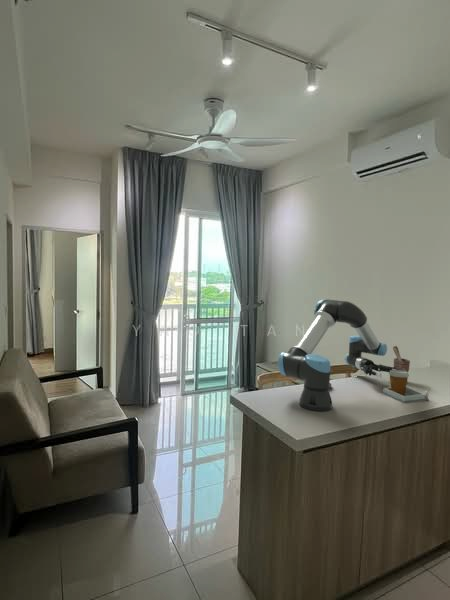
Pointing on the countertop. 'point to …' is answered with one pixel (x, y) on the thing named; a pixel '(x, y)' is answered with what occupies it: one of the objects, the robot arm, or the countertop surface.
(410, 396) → the tray
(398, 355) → the mortar and pestle
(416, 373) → the countertop surface
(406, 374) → the disposable coffee cup
